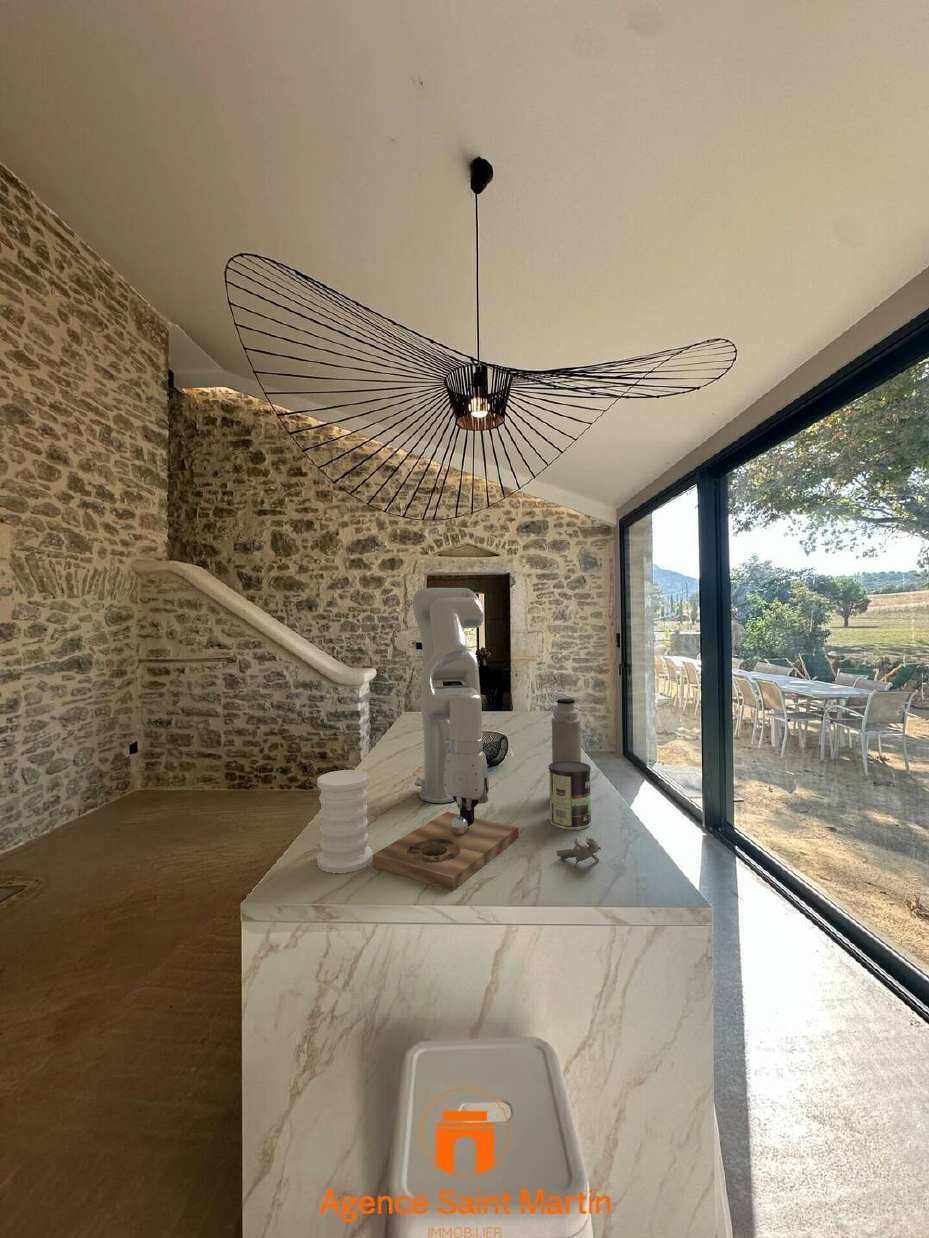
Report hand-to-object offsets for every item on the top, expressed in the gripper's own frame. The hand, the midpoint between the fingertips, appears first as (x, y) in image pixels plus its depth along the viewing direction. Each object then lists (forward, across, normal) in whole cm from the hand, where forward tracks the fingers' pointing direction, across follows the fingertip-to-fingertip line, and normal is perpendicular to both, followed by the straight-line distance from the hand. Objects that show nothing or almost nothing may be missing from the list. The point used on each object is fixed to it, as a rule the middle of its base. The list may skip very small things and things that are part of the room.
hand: (467, 824), depth 126 cm
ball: (-1, 0, -4) cm, 4 cm away
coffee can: (+4, +17, +22) cm, 28 cm away
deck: (+3, 0, -7) cm, 8 cm away
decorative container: (+4, -17, -22) cm, 28 cm away
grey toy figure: (+4, +27, 0) cm, 27 cm away
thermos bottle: (+4, +10, +38) cm, 39 cm away
